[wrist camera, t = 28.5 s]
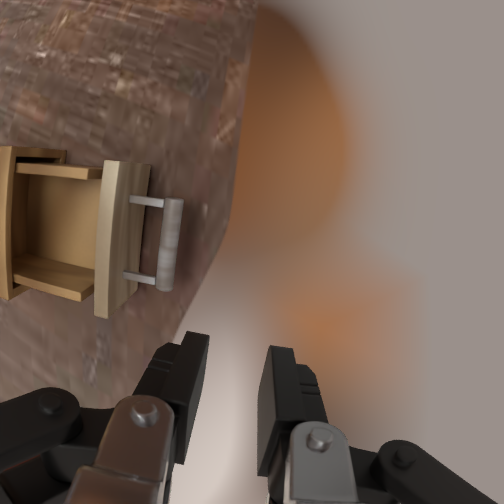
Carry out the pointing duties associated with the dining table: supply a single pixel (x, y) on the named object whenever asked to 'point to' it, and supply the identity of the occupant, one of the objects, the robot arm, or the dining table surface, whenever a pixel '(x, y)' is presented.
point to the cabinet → (3, 167)
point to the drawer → (88, 231)
